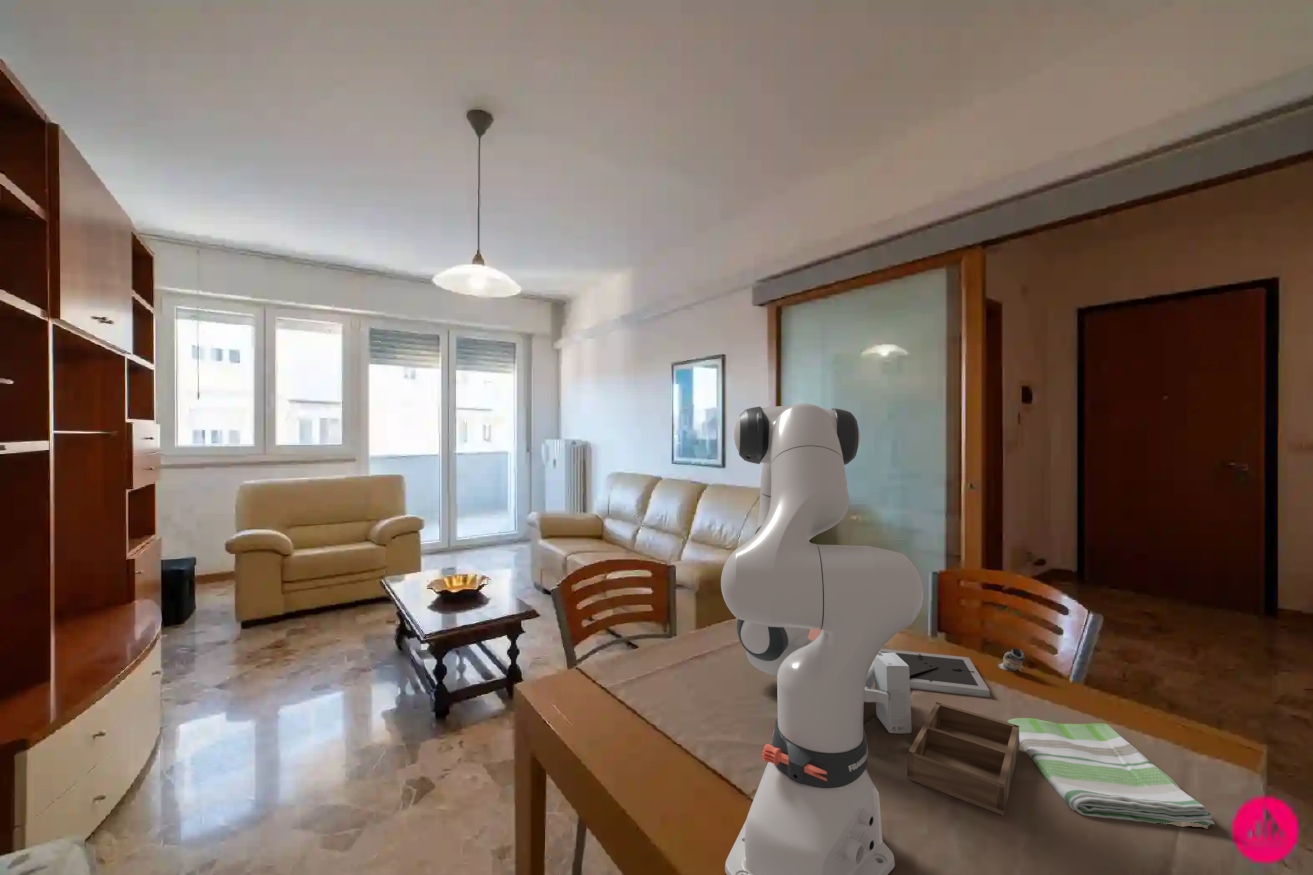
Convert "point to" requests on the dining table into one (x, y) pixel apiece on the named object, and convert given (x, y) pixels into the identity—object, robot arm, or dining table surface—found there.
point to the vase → (1012, 660)
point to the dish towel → (1105, 774)
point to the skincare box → (893, 692)
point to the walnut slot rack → (965, 756)
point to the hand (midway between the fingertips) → (897, 687)
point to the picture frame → (942, 673)
